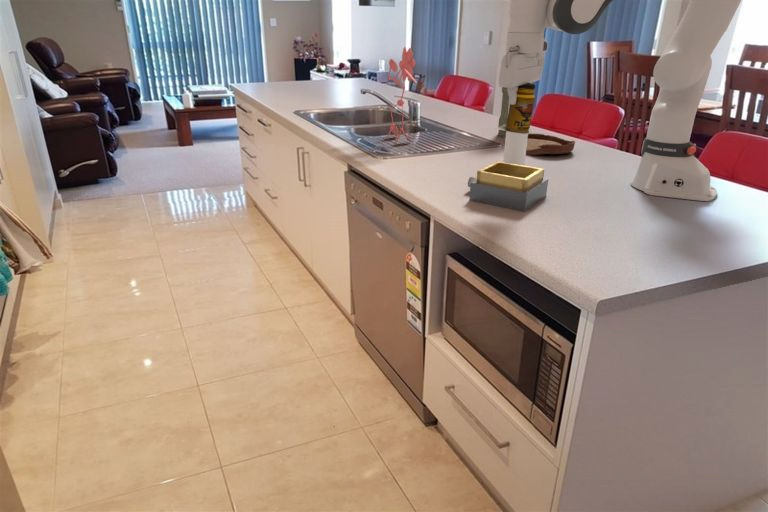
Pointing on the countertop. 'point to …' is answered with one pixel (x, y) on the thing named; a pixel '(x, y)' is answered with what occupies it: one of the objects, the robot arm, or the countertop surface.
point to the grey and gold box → (508, 186)
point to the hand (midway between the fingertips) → (518, 102)
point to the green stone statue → (504, 111)
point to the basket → (547, 144)
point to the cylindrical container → (515, 148)
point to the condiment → (521, 111)
